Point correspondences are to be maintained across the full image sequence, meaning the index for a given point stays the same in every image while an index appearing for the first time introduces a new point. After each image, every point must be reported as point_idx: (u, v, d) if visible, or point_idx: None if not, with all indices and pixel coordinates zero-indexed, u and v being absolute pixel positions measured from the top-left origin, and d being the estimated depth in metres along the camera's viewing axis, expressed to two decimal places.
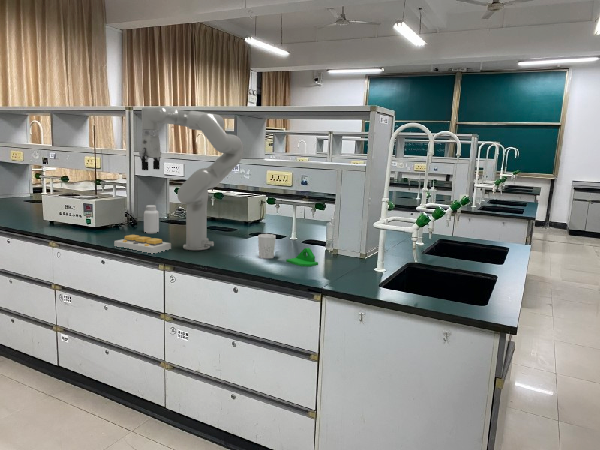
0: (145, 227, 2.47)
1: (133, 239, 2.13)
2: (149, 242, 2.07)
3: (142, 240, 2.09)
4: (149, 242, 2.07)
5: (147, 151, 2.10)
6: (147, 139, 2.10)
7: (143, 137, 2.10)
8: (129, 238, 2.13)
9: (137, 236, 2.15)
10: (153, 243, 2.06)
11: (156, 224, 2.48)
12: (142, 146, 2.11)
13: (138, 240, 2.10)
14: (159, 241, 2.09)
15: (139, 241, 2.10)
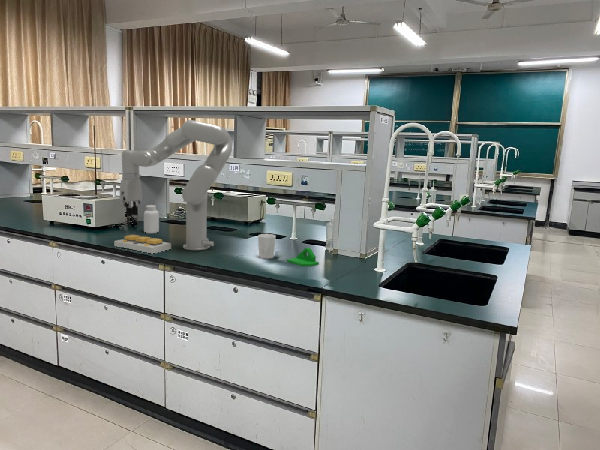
0: (145, 227, 2.47)
1: (133, 239, 2.13)
2: (149, 242, 2.07)
3: (142, 240, 2.09)
4: (149, 242, 2.07)
5: None
6: None
7: None
8: (129, 238, 2.13)
9: (137, 236, 2.15)
10: (153, 243, 2.06)
11: (156, 224, 2.48)
12: None
13: (138, 240, 2.10)
14: (159, 241, 2.09)
15: (139, 241, 2.10)
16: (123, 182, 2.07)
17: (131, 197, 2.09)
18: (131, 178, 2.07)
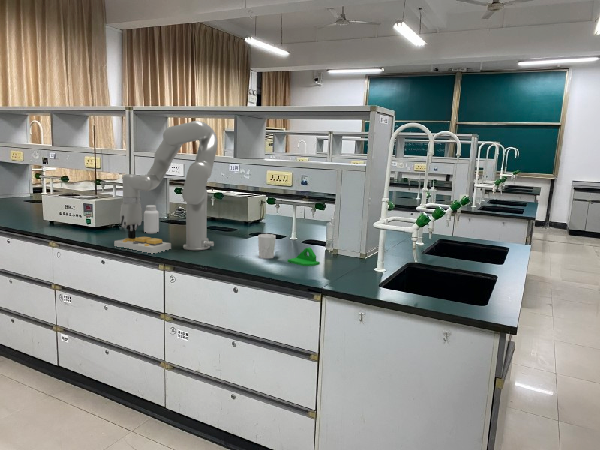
0: (145, 227, 2.47)
1: (133, 241, 2.13)
2: (149, 242, 2.07)
3: (142, 240, 2.09)
4: (149, 242, 2.07)
5: None
6: None
7: None
8: (129, 240, 2.13)
9: None
10: (153, 243, 2.06)
11: (156, 224, 2.48)
12: None
13: (138, 240, 2.10)
14: (159, 241, 2.09)
15: (139, 241, 2.10)
16: (124, 206, 2.09)
17: (131, 221, 2.11)
18: (131, 202, 2.09)
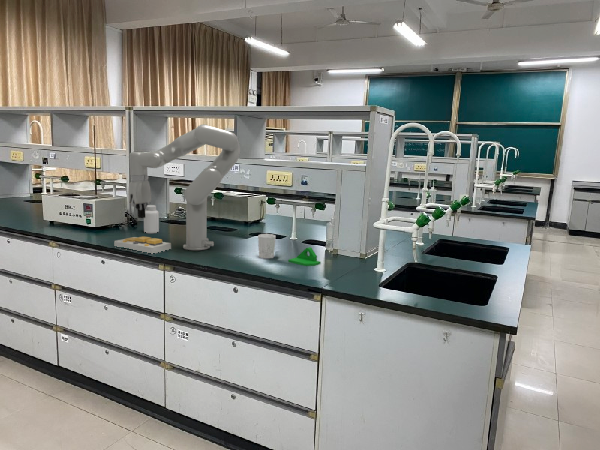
0: (145, 227, 2.47)
1: None
2: (149, 242, 2.07)
3: (142, 240, 2.09)
4: (149, 242, 2.07)
5: None
6: None
7: None
8: None
9: None
10: (153, 243, 2.06)
11: (156, 224, 2.48)
12: None
13: (138, 240, 2.10)
14: (159, 241, 2.09)
15: (139, 241, 2.10)
16: (132, 184, 2.05)
17: (140, 200, 2.07)
18: (139, 180, 2.05)
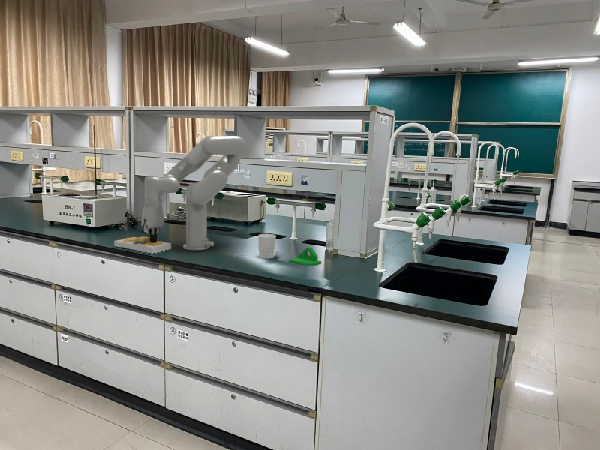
0: None
1: None
2: (149, 244, 2.08)
3: (142, 240, 2.09)
4: (149, 244, 2.08)
5: None
6: None
7: None
8: None
9: None
10: None
11: None
12: None
13: (138, 240, 2.10)
14: (159, 243, 2.09)
15: (139, 241, 2.10)
16: (146, 209, 2.02)
17: (153, 224, 2.05)
18: (154, 205, 2.03)
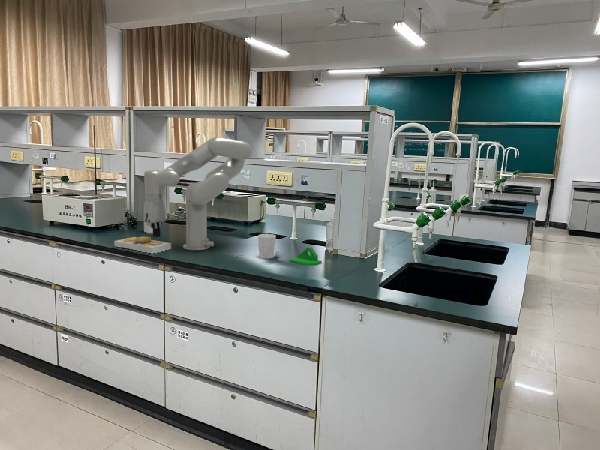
0: (145, 227, 2.47)
1: None
2: (149, 244, 2.08)
3: (142, 240, 2.09)
4: None
5: None
6: None
7: None
8: None
9: None
10: None
11: None
12: None
13: (138, 240, 2.10)
14: (159, 244, 2.09)
15: (139, 241, 2.10)
16: (147, 203, 2.02)
17: (155, 219, 2.05)
18: (155, 199, 2.03)
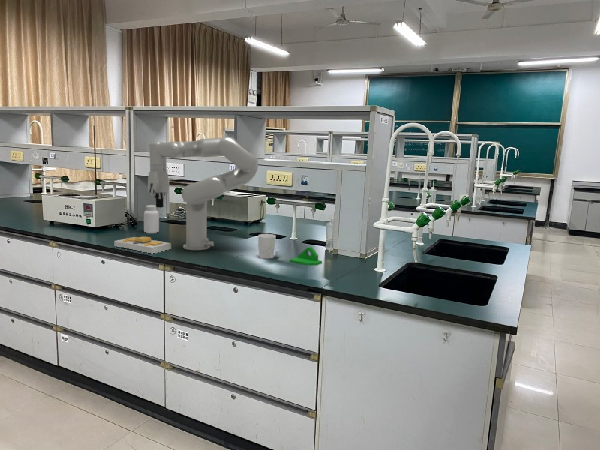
0: (145, 227, 2.47)
1: None
2: (149, 244, 2.08)
3: (142, 240, 2.09)
4: None
5: None
6: None
7: None
8: None
9: None
10: None
11: (156, 224, 2.48)
12: None
13: (138, 240, 2.10)
14: (159, 244, 2.09)
15: (139, 241, 2.10)
16: (152, 174, 2.07)
17: (159, 189, 2.10)
18: (160, 170, 2.08)
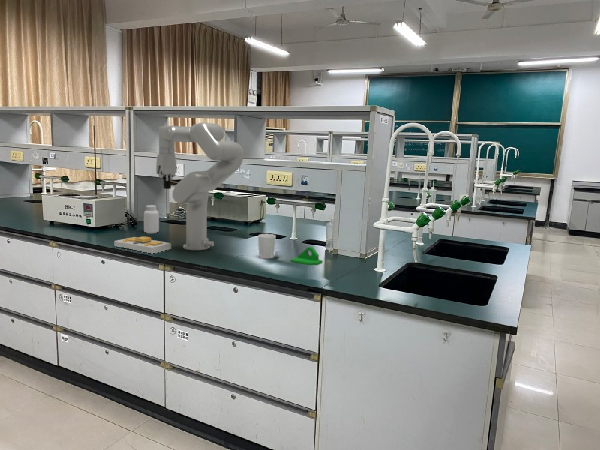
0: (145, 227, 2.47)
1: None
2: (149, 244, 2.08)
3: (142, 240, 2.09)
4: None
5: None
6: None
7: None
8: None
9: None
10: None
11: (156, 224, 2.48)
12: None
13: (138, 240, 2.10)
14: (159, 244, 2.09)
15: (139, 241, 2.10)
16: (160, 156, 2.19)
17: (167, 171, 2.21)
18: (167, 152, 2.19)
